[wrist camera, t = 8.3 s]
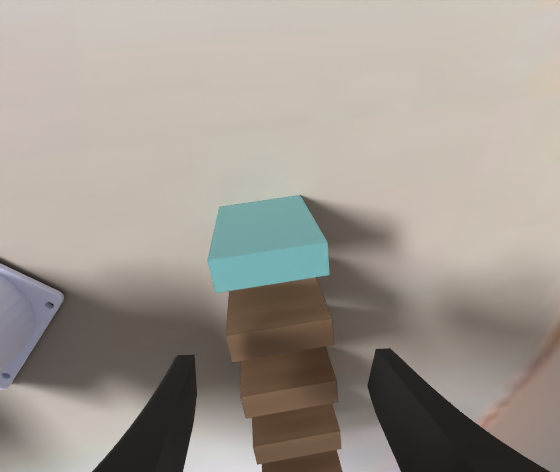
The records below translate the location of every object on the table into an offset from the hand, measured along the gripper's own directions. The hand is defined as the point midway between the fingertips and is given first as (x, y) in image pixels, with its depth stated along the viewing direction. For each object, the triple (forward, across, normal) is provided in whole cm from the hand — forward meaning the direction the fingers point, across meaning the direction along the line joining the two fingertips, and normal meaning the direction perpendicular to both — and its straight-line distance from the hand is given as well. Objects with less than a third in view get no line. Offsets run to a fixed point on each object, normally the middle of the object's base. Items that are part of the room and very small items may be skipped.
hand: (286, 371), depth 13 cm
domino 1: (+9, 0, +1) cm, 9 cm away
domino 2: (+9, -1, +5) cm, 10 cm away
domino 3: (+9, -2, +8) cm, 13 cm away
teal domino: (+9, +1, -3) cm, 10 cm away
